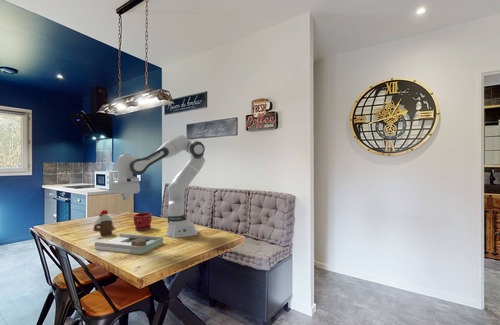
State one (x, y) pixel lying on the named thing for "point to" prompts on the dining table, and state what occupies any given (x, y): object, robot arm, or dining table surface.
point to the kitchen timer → (102, 218)
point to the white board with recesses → (123, 243)
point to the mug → (104, 228)
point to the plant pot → (142, 221)
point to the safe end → (148, 246)
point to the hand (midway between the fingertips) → (125, 199)
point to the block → (138, 242)
